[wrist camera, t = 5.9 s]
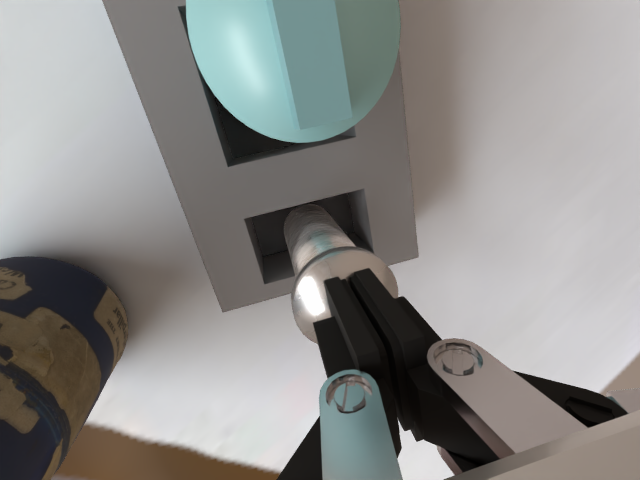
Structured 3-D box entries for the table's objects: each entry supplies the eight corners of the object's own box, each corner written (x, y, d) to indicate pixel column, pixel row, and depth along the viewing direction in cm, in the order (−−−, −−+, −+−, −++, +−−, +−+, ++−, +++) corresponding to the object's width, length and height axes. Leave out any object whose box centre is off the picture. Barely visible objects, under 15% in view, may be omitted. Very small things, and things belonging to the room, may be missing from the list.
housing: (67, -164, 13) (-4, -274, 10) (337, -196, 15) (365, -303, 11) (228, 280, 22) (222, 312, 18) (392, 235, 23) (418, 257, 19)
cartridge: (217, 49, 17) (128, -134, 5) (303, 32, 17) (409, -170, 5) (243, 140, 19) (223, 167, 7) (320, 122, 19) (429, 119, 7)
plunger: (269, 206, 18) (280, 270, 10) (332, 190, 18) (391, 240, 10) (285, 264, 19) (306, 360, 12) (344, 248, 20) (403, 330, 12)
